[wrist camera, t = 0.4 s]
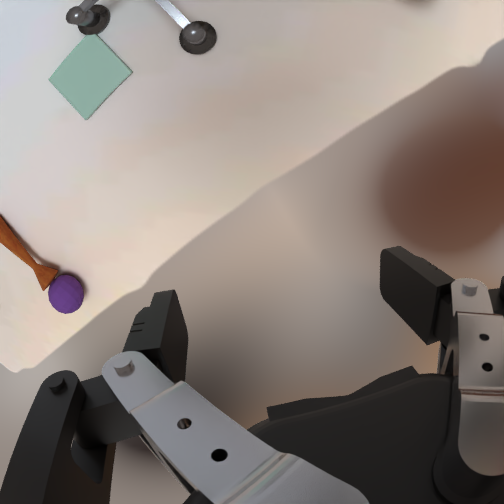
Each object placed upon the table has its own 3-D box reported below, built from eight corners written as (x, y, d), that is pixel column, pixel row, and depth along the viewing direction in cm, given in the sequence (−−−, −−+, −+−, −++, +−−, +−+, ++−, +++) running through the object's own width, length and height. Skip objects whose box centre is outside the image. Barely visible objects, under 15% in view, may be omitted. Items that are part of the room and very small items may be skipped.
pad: (50, 79, 27) (48, 79, 27) (93, 30, 25) (91, 30, 25) (87, 119, 31) (85, 120, 31) (133, 72, 29) (131, 72, 28)
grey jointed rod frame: (74, 23, 24) (51, 19, 19) (144, -40, 21) (131, -55, 16) (148, 101, 31) (135, 107, 26) (223, 39, 28) (223, 33, 23)
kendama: (-10, 214, 32) (83, 305, 40) (9, 203, 38) (94, 285, 45) (-23, 242, 33) (65, 327, 41) (-5, 229, 38) (76, 307, 46)
